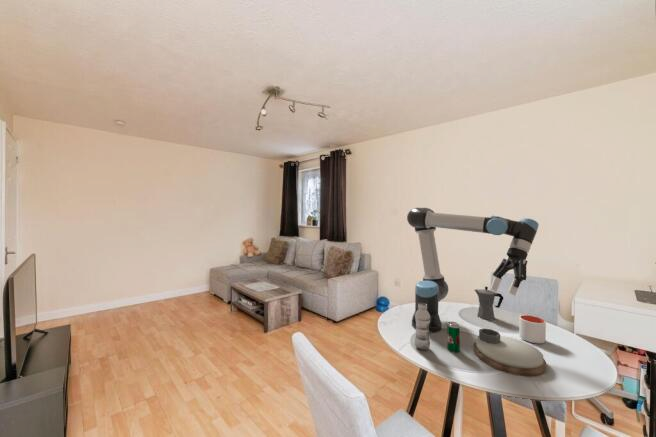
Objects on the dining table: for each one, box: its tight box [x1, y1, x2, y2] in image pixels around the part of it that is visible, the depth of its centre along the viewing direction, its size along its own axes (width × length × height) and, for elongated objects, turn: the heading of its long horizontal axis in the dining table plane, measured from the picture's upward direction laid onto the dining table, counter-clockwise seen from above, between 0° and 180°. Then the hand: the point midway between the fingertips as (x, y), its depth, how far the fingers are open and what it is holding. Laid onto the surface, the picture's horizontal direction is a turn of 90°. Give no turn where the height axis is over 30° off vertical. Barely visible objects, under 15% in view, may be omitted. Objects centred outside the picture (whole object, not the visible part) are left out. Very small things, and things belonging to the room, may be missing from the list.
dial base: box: [473, 341, 547, 377], centre depth 111 cm, size 25×25×2 cm
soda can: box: [446, 321, 461, 354], centre depth 117 cm, size 5×5×12 cm
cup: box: [518, 314, 547, 344], centre depth 127 cm, size 10×10×10 cm
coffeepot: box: [474, 286, 504, 321], centre depth 153 cm, size 15×9×18 cm, turn 37°
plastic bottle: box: [414, 303, 431, 351], centre depth 118 cm, size 6×7×20 cm
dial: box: [475, 328, 544, 369], centre depth 111 cm, size 25×23×5 cm
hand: (501, 292), depth 120 cm, fingers open, 13 cm apart
